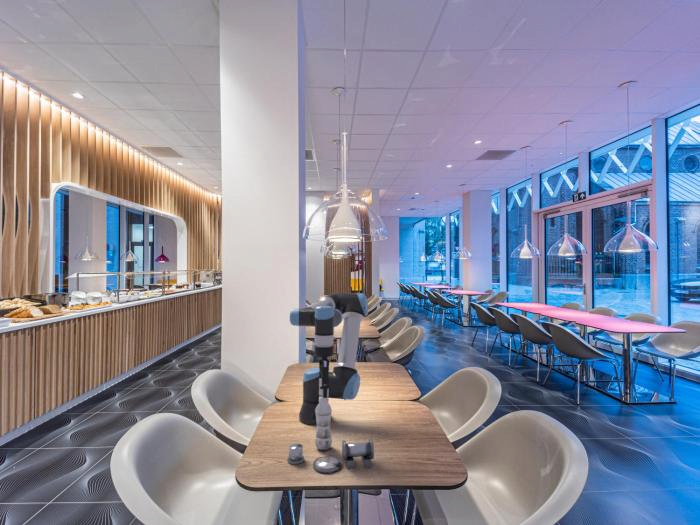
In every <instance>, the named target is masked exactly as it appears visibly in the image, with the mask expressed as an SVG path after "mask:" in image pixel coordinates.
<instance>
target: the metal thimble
mask: <svg viewBox="0 0 700 525" xmlns="http://www.w3.org/2000/svg"><path fill="white" fill-rule="evenodd" d="M303 447H304V446H303V444H302V443H301V444H300V443H293V444H292V443H291V444H290V445H289V446H288V457H287V458H286V459H287V460H286V462H287V464H289V465H293V466H297V465H298V466H299V465H300V464H303V463H304V462H305V461H304V460H305V457H304V455H303V454H304V453H303V450H304V448H303Z"/></svg>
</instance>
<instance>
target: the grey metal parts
mask: <svg viewBox="0 0 700 525" xmlns="http://www.w3.org/2000/svg"><path fill="white" fill-rule="evenodd" d="M341 451H342V461H343V462H345V465H346V470H354V469H355V459H354V458H359V457H360V460H361V463H362V466H363V468H364V469H371V468H372V460H373V459H374V458H375V446H374V442H373V439H372V438H370V439H368V442H354V443H352V442H351V443H350V442H349V443H347V442H346V440H342V444H341ZM342 461H341V459H340V458H337V457H335V456H332V455H331V456H329V455H326V456H325V455H324V456H321V457H317V458H316V459H314V461H313V463H312V469H313V470H314V471H315V472H316V473H320V474H323V475H328V474H334V473H336V472H339V471H340V470H341V468H342Z"/></svg>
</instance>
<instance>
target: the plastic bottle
mask: <svg viewBox="0 0 700 525" xmlns="http://www.w3.org/2000/svg"><path fill="white" fill-rule="evenodd" d="M328 402H329V400H328ZM315 413H316V422H317V425H316V431H315V433H316V434H315V437H314V438H315V439H314V444H315V448H316V449H317V450H320V451H326V450H327V451H328V450H330V448H331V447H332V444H333V439H332V433H331V432H332V431H331V423H332V422H331V419H332V406H331V405H330V404H329V403H328V406H321V396H319V404H318V405H317V407H316V409H315Z"/></svg>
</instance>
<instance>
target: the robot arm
mask: <svg viewBox="0 0 700 525" xmlns="http://www.w3.org/2000/svg"><path fill="white" fill-rule="evenodd" d="M368 315H369V302H368V298H367V295H366V294H365V293H363V292H362V293H360V292H335V293H334V292H333V293H330V294H328V295H325V296H322V297H321V298H320V299H319V300H318V301H316V302H314V303H312V304H310V305H308V306H307V305H306V307H302V308H299V307H297V308H292V309H291V311H290V313H289V323H290V325H291V326H294V327H295V326H296V327H314V345H315V346H314V356H316V357H319V359H318V367H313V368H309V369H307V370H305V371H304V373H303V375H302V376H303V377H302V379H303V380H302V403H301V408H300V411H299V414H298V421H299V422H300V423H303V424H306V425H309V426H310V425H313V426H317V422H316V413H315V409H316V407H317V405H318V404H319V396H321V406H328V404H329V401H328V400H329V399H337V400H343V401H347V400H351V401H353V400H355V399H356V398H357V396H358V393H359V391H360V385H361V375H360V374H359V373H358V369H357V368H356V359H357V351H358V346H359V337H360V328H361V322H363V321H364V320H365V317H366V316H368ZM342 322H343V326H342V331H341V339H340V346H339V351H338V358H337V364H336V365H335V366H334V367H333V370H332V371H330V359H328V358H329V357H333V356H334V353H335V352H334V351H335V350H334V347H335V346H334V340H335V339H336V336H335V335H334V334H335V330H334V329H335V328H336V327H338V326H340V325H341V323H342Z"/></svg>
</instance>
